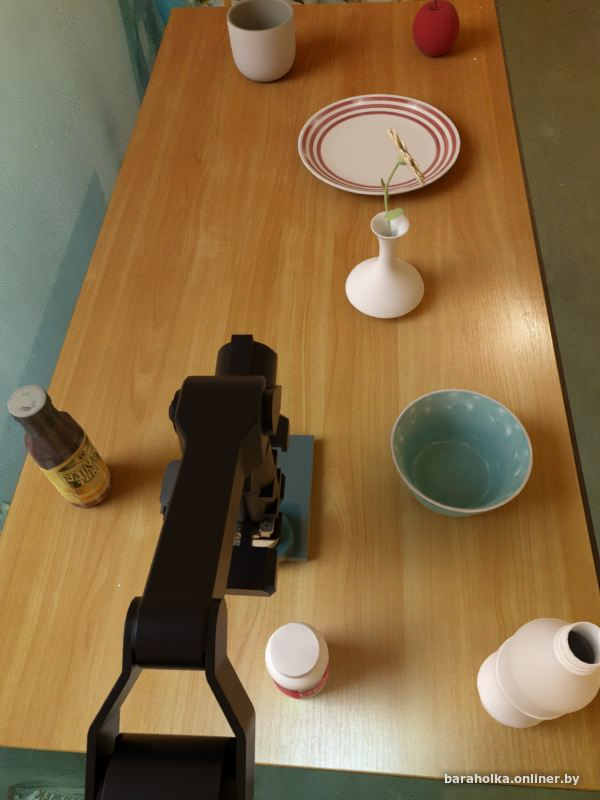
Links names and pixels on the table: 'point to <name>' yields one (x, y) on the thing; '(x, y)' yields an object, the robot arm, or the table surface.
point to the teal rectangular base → (295, 498)
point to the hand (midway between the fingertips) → (261, 528)
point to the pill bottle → (298, 660)
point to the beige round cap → (265, 543)
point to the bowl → (461, 452)
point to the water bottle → (541, 672)
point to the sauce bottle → (60, 447)
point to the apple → (436, 27)
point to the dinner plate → (377, 143)
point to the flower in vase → (388, 258)
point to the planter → (262, 38)
